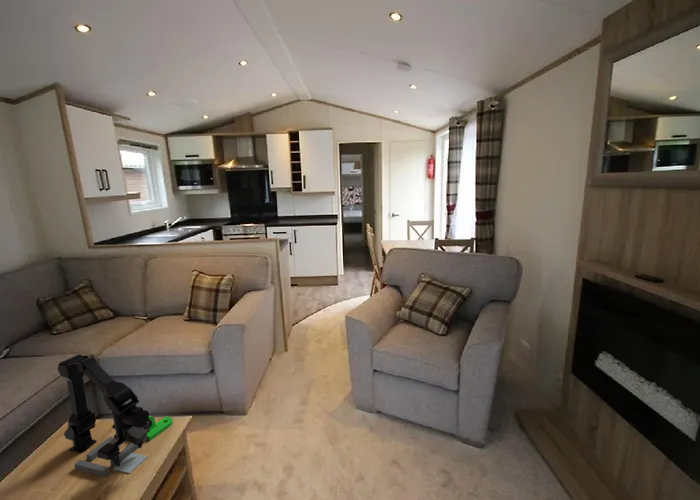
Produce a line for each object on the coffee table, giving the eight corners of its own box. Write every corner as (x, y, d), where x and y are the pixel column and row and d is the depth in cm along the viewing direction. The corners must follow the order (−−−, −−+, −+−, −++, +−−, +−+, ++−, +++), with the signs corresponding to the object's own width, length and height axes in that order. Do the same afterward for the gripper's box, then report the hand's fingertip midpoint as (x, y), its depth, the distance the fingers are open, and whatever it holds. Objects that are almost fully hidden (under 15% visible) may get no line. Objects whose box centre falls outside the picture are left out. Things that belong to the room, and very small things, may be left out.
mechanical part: (150, 441, 141) (147, 424, 139) (141, 437, 143) (138, 420, 142) (176, 423, 151) (173, 407, 150) (167, 419, 154) (164, 404, 152)
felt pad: (113, 469, 127) (112, 468, 127) (131, 453, 134) (131, 452, 134) (129, 473, 124) (129, 472, 124) (147, 457, 132) (147, 456, 132)
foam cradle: (75, 469, 127) (74, 463, 127) (121, 434, 145) (120, 429, 145) (104, 477, 123) (103, 471, 123) (148, 440, 141) (147, 434, 141)
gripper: (117, 442, 115) (124, 481, 118) (160, 407, 133) (166, 442, 135) (92, 436, 118) (99, 475, 121) (138, 403, 136) (144, 438, 138)
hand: (129, 456), depth 129 cm, fingers open, 9 cm apart
